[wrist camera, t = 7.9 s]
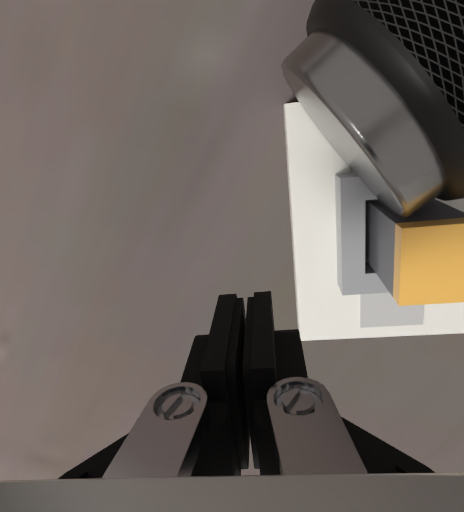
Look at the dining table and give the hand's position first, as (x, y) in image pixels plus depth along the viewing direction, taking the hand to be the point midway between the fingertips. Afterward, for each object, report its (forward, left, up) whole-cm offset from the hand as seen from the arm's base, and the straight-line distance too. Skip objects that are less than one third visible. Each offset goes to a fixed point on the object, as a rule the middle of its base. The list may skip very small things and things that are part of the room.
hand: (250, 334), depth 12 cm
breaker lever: (-7, 0, -10) cm, 13 cm away
